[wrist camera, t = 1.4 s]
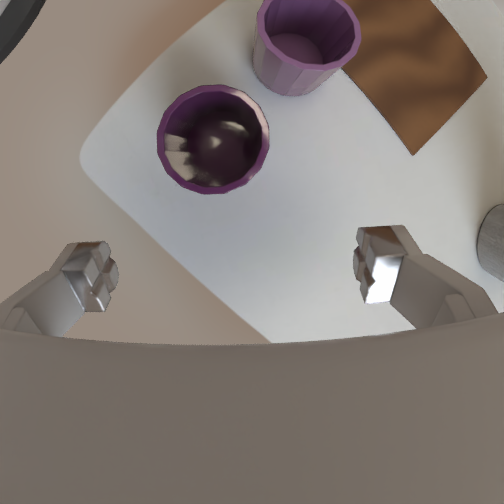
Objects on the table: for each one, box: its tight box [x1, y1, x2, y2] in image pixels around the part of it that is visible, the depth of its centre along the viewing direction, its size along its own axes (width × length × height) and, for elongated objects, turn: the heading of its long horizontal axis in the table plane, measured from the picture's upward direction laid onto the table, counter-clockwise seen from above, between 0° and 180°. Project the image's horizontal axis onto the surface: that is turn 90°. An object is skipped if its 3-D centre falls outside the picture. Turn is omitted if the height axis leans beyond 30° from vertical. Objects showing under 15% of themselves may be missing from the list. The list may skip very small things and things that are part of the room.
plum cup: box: [157, 84, 269, 195], centre depth 24 cm, size 7×7×10 cm
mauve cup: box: [252, 0, 361, 96], centre depth 21 cm, size 7×7×10 cm
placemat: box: [341, 0, 488, 155], centre depth 25 cm, size 20×18×1 cm
